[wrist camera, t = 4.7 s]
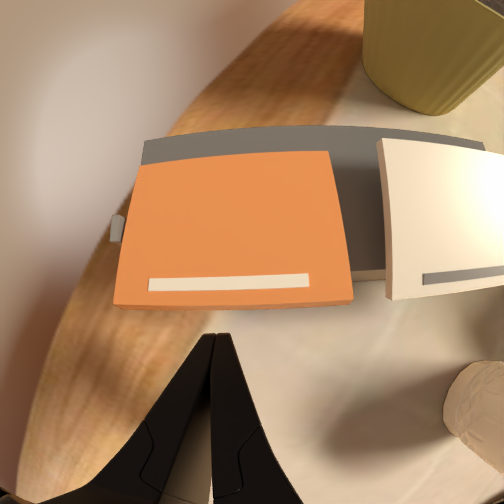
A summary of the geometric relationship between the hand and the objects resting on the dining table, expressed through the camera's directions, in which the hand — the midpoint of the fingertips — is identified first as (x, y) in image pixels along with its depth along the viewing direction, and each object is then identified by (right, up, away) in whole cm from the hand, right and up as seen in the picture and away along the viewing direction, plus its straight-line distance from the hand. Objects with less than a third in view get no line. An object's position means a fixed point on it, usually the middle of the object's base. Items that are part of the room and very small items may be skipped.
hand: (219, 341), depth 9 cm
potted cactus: (+18, +21, +14) cm, 31 cm away
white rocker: (+11, +4, +2) cm, 12 cm away
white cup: (+19, -10, +8) cm, 23 cm away
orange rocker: (0, +4, +3) cm, 5 cm away
